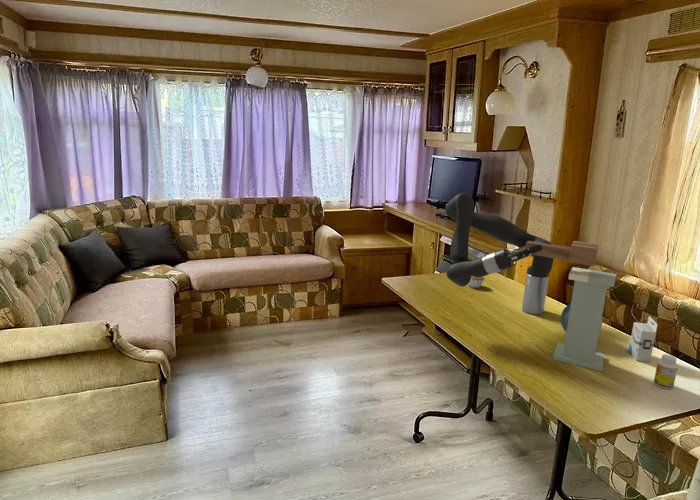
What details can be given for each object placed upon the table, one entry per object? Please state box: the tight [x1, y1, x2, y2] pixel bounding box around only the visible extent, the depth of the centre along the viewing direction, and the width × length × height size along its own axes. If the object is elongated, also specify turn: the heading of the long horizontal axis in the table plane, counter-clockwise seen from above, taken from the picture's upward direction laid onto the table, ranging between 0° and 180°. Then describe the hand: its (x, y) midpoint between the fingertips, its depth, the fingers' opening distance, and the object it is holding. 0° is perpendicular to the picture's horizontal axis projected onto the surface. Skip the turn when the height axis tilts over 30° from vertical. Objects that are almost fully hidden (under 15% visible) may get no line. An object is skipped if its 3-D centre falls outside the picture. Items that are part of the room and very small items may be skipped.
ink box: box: [628, 316, 658, 363], centre depth 179 cm, size 9×5×15 cm, turn 168°
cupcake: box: [467, 276, 486, 289], centre depth 252 cm, size 9×9×10 cm
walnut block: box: [525, 240, 599, 267], centre depth 173 cm, size 8×23×6 cm, turn 60°
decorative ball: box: [560, 303, 603, 333], centre depth 194 cm, size 15×15×15 cm
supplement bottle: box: [653, 353, 679, 390], centre depth 160 cm, size 6×6×10 cm
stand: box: [552, 266, 617, 372], centre depth 174 cm, size 12×16×32 cm
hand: (542, 245), depth 176 cm, fingers closed on walnut block, 4 cm apart
